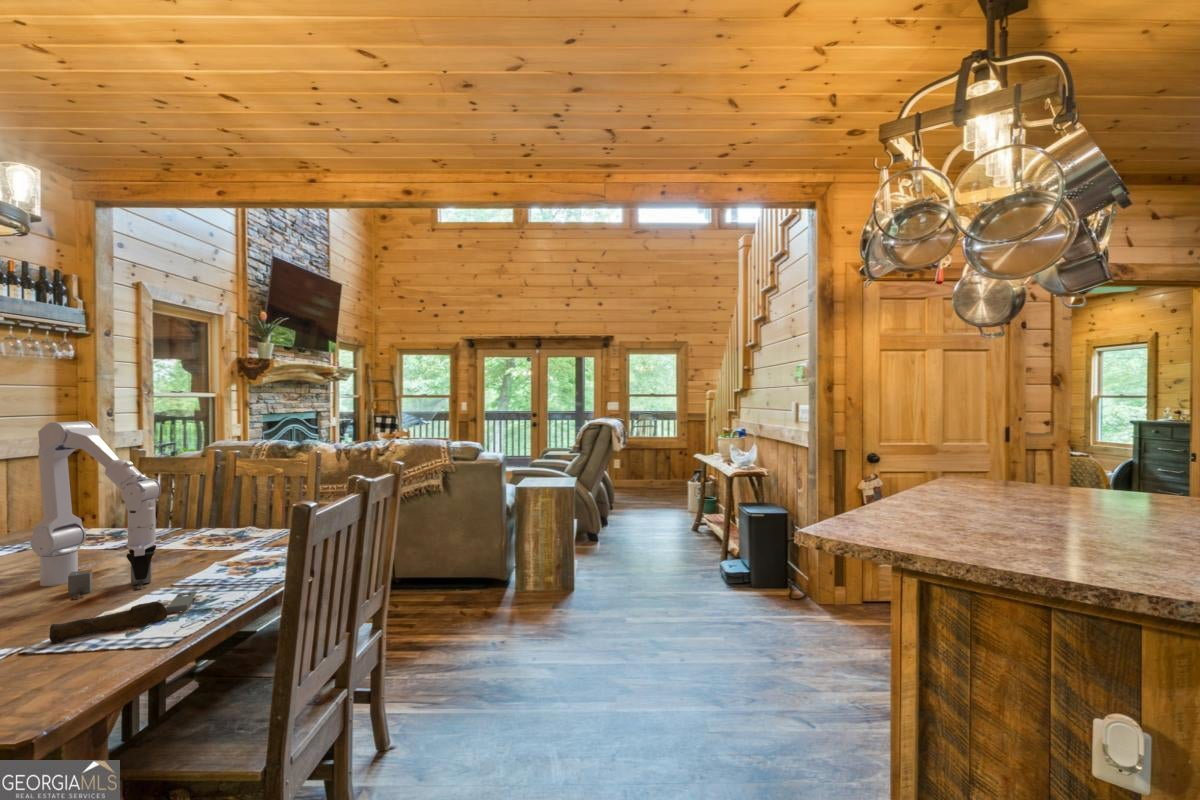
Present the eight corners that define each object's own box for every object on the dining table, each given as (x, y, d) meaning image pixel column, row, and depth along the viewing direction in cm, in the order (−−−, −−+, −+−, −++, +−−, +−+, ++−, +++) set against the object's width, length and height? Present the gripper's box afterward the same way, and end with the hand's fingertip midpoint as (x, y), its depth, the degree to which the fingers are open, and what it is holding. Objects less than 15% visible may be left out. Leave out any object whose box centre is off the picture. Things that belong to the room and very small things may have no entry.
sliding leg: (132, 581, 148) (132, 562, 148) (151, 578, 150) (151, 559, 150) (129, 590, 141) (129, 570, 141) (149, 587, 143) (149, 567, 143)
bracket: (166, 615, 129) (166, 607, 129) (178, 600, 138) (178, 592, 138) (187, 613, 131) (187, 604, 131) (197, 598, 140) (197, 590, 140)
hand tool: (48, 647, 112) (48, 624, 112) (51, 640, 115) (51, 618, 115) (166, 624, 124) (166, 603, 124) (166, 618, 127) (166, 598, 127)
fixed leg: (71, 591, 141) (71, 572, 141) (92, 588, 143) (92, 569, 143) (64, 601, 134) (64, 581, 134) (86, 598, 136) (86, 578, 136)
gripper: (159, 528, 143) (159, 581, 144) (162, 518, 155) (162, 567, 155) (123, 532, 139) (123, 586, 139) (129, 522, 151) (129, 571, 151)
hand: (141, 576), depth 147 cm, fingers closed on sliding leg, 4 cm apart
